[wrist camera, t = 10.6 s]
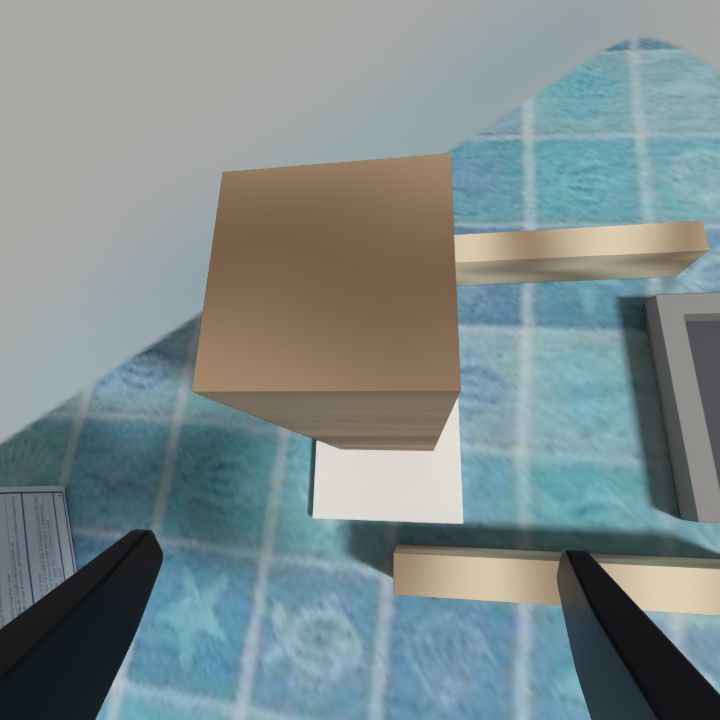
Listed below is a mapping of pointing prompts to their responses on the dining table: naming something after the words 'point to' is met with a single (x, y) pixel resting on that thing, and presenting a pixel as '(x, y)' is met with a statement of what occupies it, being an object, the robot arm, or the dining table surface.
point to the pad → (391, 482)
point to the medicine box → (32, 546)
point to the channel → (539, 568)
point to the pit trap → (689, 395)
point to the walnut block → (336, 301)
